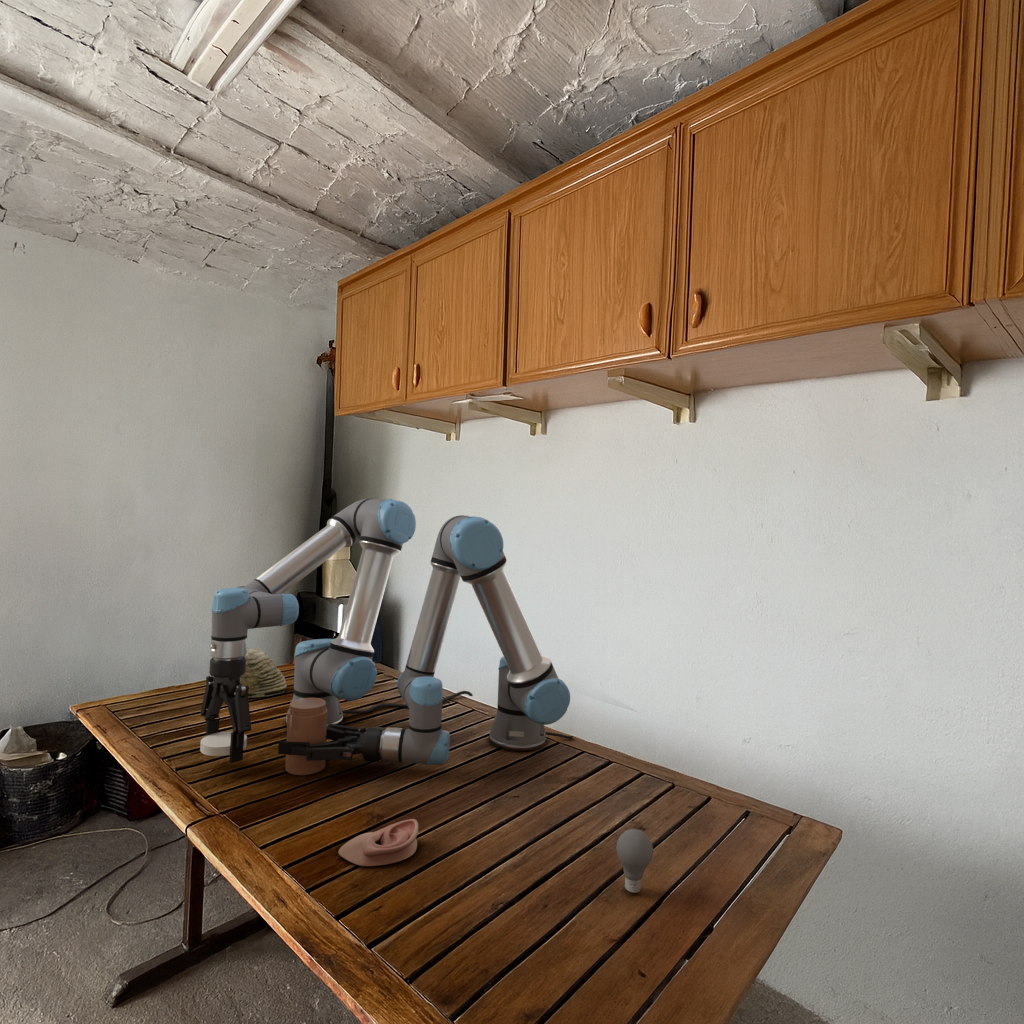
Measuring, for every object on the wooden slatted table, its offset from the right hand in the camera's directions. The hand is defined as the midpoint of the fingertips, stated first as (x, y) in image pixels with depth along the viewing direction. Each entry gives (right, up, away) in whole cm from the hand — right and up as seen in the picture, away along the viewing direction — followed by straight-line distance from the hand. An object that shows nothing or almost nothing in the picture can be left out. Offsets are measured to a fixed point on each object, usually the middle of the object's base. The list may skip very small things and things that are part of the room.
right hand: (287, 739), depth 148 cm
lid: (-13, +1, -4) cm, 14 cm away
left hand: (-13, -2, -4) cm, 14 cm away
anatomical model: (+29, -8, -34) cm, 45 cm away
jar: (+4, -6, 0) cm, 8 cm away
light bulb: (+73, -10, -42) cm, 85 cm away
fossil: (-28, -4, +50) cm, 57 cm away
